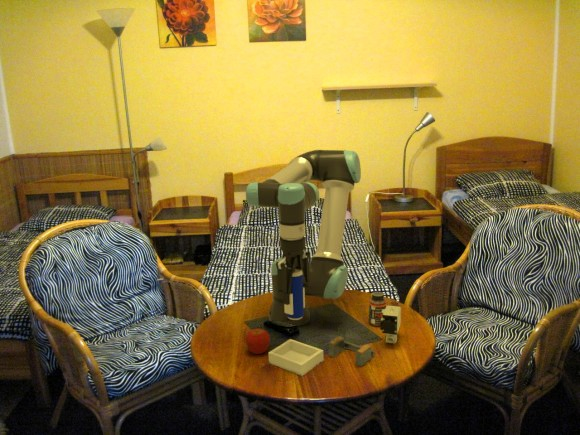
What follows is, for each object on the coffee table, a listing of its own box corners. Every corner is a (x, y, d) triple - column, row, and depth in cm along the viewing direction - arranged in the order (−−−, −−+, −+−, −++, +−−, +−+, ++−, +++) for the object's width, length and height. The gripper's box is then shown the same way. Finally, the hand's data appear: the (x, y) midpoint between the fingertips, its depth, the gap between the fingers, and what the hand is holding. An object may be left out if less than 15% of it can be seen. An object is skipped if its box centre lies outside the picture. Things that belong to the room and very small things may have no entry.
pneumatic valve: (401, 334, 186) (401, 301, 183) (395, 350, 176) (396, 315, 173) (384, 332, 188) (385, 299, 185) (378, 347, 177) (379, 313, 174)
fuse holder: (328, 355, 173) (328, 342, 172) (342, 345, 179) (342, 332, 178) (361, 367, 166) (361, 353, 165) (374, 356, 172) (374, 343, 171)
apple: (275, 351, 177) (274, 329, 175) (256, 360, 172) (255, 337, 170) (260, 343, 183) (259, 322, 181) (241, 351, 178) (240, 329, 176)
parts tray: (268, 363, 170) (268, 352, 169) (290, 349, 178) (290, 338, 178) (302, 376, 162) (301, 365, 161) (323, 360, 171) (323, 350, 170)
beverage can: (306, 314, 168) (305, 268, 164) (299, 321, 163) (298, 274, 159) (291, 312, 170) (289, 266, 166) (283, 318, 165) (282, 272, 162)
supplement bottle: (374, 328, 191) (375, 298, 188) (365, 321, 196) (365, 292, 193) (389, 324, 193) (389, 295, 190) (379, 318, 198) (380, 289, 196)
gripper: (283, 246, 151) (285, 324, 157) (321, 231, 165) (322, 302, 171) (262, 242, 155) (265, 317, 161) (301, 227, 169) (303, 297, 175)
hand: (294, 309), depth 166 cm, fingers closed on beverage can, 5 cm apart
